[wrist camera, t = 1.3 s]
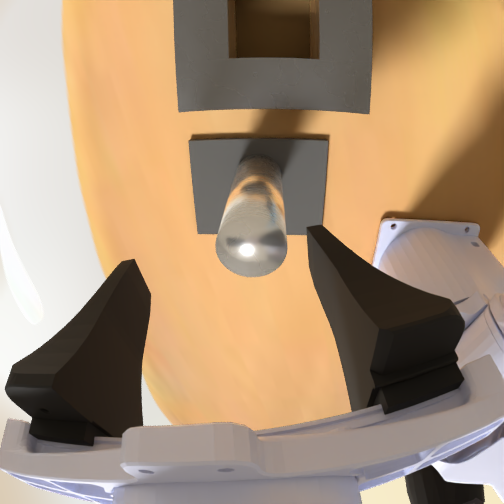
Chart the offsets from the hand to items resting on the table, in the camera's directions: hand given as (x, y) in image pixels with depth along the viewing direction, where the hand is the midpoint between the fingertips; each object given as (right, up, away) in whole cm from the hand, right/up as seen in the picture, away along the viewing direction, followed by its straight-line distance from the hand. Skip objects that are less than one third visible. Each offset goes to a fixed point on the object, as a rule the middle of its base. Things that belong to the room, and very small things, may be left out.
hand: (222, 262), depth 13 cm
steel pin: (+2, +5, +8) cm, 10 cm away
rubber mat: (+2, +5, +9) cm, 10 cm away
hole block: (+2, +14, +3) cm, 15 cm away
